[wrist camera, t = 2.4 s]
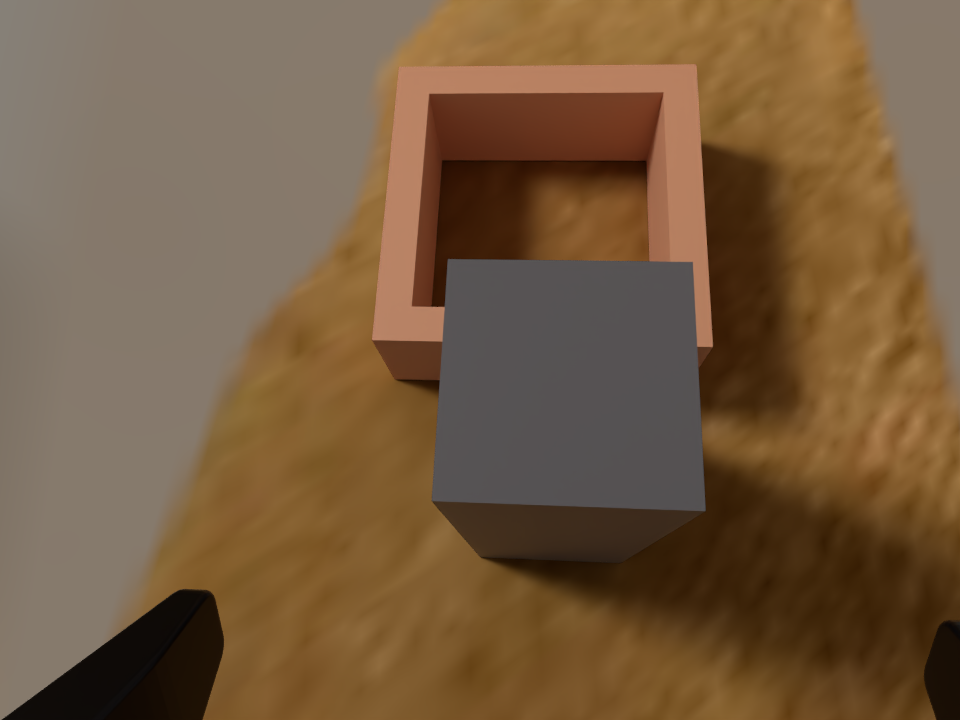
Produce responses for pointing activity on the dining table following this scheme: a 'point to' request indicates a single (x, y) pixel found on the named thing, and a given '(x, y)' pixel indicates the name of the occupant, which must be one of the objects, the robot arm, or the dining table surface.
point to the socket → (532, 137)
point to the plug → (568, 407)
